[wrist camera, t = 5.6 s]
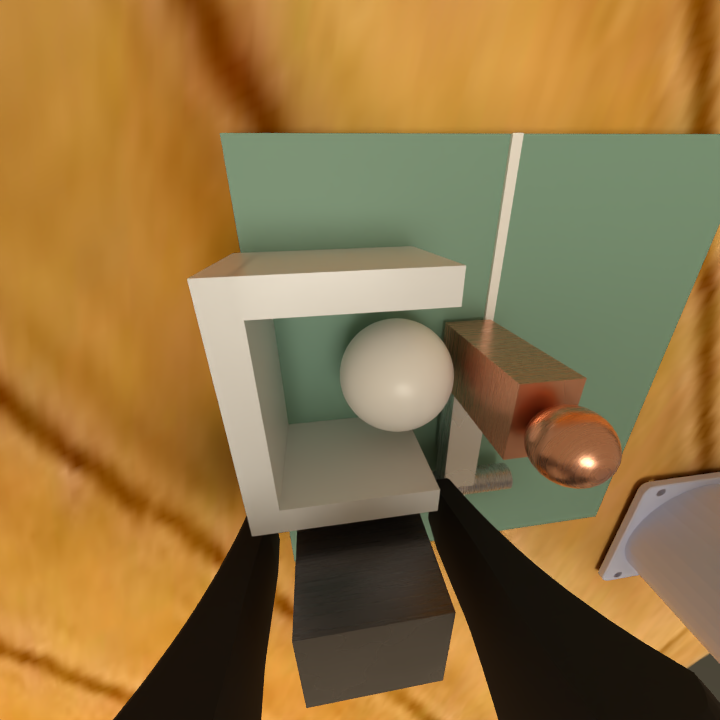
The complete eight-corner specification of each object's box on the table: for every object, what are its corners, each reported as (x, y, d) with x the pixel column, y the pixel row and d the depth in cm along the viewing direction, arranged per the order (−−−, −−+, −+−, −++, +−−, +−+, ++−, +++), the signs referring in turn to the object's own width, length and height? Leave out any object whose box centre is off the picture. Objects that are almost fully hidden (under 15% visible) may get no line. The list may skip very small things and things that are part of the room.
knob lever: (531, 316, 10) (737, 415, 5) (492, 494, 14) (596, 656, 9) (259, 334, 9) (199, 478, 4) (290, 521, 13) (277, 722, 8)
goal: (411, 246, 9) (466, 265, 6) (403, 430, 12) (437, 510, 9) (233, 252, 9) (186, 278, 5) (268, 444, 11) (251, 536, 8)
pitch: (718, 141, 10) (761, 133, 9) (580, 500, 17) (597, 517, 16) (229, 141, 8) (218, 131, 7) (295, 540, 15) (294, 563, 14)
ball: (486, 335, 7) (351, 351, 7) (469, 444, 9) (356, 467, 8) (426, 300, 10) (328, 310, 10) (421, 387, 12) (334, 401, 11)
